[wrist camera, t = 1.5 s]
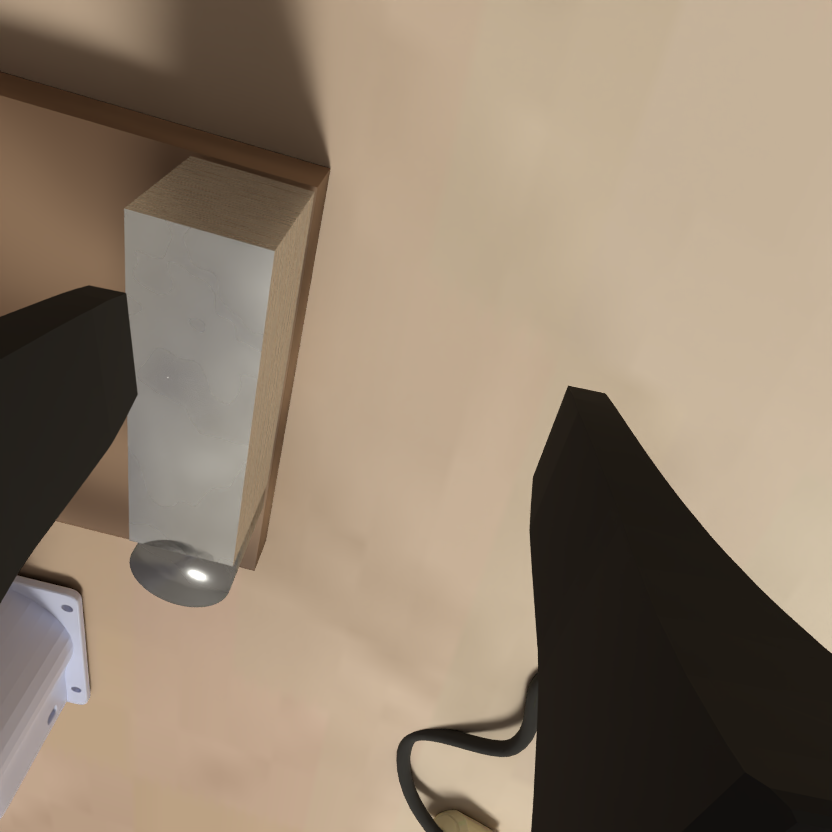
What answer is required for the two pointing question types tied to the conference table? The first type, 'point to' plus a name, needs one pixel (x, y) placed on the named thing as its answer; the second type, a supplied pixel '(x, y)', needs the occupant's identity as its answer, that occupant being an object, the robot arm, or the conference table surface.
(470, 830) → the cable
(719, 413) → the conference table surface
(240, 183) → the folding leg
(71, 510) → the stool seat
